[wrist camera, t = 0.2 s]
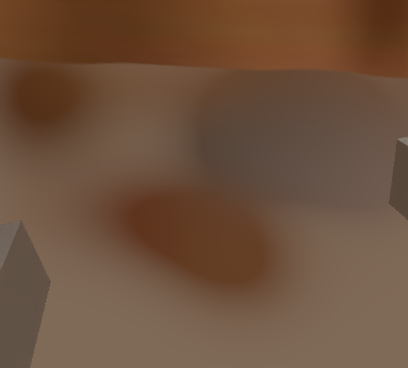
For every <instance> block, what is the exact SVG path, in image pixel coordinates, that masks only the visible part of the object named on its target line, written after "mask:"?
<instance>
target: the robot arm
mask: <svg viewBox="0 0 408 368" xmlns="http://www.w3.org/2000/svg"><path fill="white" fill-rule="evenodd" d="M389 204H390V205H392V206H393V207H394V208H395V209H396V210H397V211H398V212H399V213H400V214H402V215H403V216H404V217H405V218H406V219H407V220H408V137H405V138H400V139H397V144H396V153H395V161H394V169H393V177H392V185H391V193H390V201H389ZM49 286H50V280H49V278H48V275H47V273H46V271H45V269H44V267H43V265H42V263H41V261H40V259H39V257H38V254H37V252H36V251H35V248H34V246H33V244H32V242H31V240H30V238H29V236H28V234H27V231H26V229H25V227H24V225H23V223H22V221H17V222H12V223H7V224H3V225H0V368H30V365H31V361H32V357H33V353H34V348H35V344H36V340H37V336H38V332H39V328H40V323H41V319H42V314H43V311H44V306H45V302H46V298H47V293H48V290H49Z"/></svg>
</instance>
